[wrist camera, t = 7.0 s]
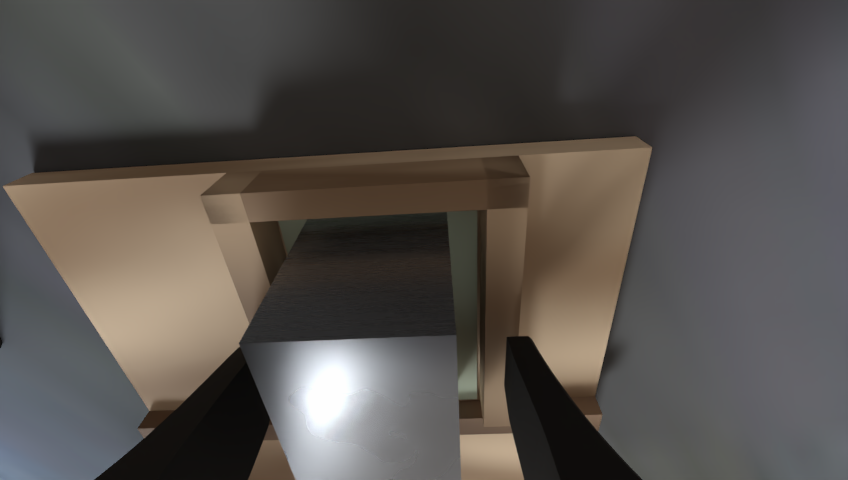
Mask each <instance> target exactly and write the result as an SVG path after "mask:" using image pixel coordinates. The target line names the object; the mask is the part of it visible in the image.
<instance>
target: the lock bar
mask: <svg viewBox="0 0 848 480" xmlns="http://www.w3.org/2000/svg"><path fill="white" fill-rule="evenodd" d="M239 345H240V348H241V350H242V353H243V355H244V357H245V360H246V362H247V364H248V367H249V369H250V372H251V374H252V376H253V379H254V381H255V384H256V386H257V388H258V391H259V393H260V396H261V398H262V400H263V403H264V405H265V408H266V410H267V412H268V415H269V417H270V420H271V422H272V424H273V427H274V429H275V431H276V434H277V436H278V439H279V441H280V443H281V446H282V448H283V451H284V453H285V455H286V458H287V460H288V463H289V465H290V467H291V470H292V472H293V475H294V477H295V479H296V480H461V459H460V429H459V400H458V370H457V341H456V325H455V312H454V299H453V286H452V273H451V260H450V247H449V234H448V222H447V212H434V213H415V214H396V215H378V216H359V217H341V218H322V219H307V221H306V222H305V224H304V226H303V228H302V230H301V232H300V233H299V235H298V237H297V239H296V241H295V242H294V244H293V246H292V248H291V250H290V252H289V253H288V255H287V257H286V259H285V261H284V262H283V264H282V266H281V268H280V270H279V271H278V273H277V275H276V277H275V279H274V281H273V282H272V284H271V286H270V288H269V290H268V291H267V293H266V295H265V297H264V299H263V301H262V302H261V304H260V306H259V308H258V310H257V311H256V313H255V315H254V317H253V319H252V320H251V322H250V324H249V326H248V328H247V330H246V331H245V333H244V335H243V337H242V339H241V340H240V342H239Z"/></svg>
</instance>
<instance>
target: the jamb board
mask: <svg viewBox="0 0 848 480" xmlns="http://www.w3.org/2000/svg"><path fill="white" fill-rule="evenodd" d="M651 151H652V147H651V146H649V145H648V144H646V143H645V142H644V141H642V140H641V139H639V138H638V137H636V136H632V137H615V138H599V139H582V140H566V141H550V142H533V143H517V144H500V145H484V146H467V147H451V148H435V149H418V150H402V151H385V152H369V153H352V154H336V155H320V156H303V157H287V158H270V159H254V160H237V161H221V162H204V163H188V164H172V165H155V166H139V167H122V168H106V169H89V170H73V171H57V172H40V173H31V174H29V175H27V176H24V177H22V178H20V179H18V180H15V181H13V182H11V183H9V184H6V185H4V186H3V187H4V189H5V191H6V192H7V194H8V195H9V197H10V198H11V200H12V201H13V203H14V204H15V206H16V207H17V209H18V210H19V212H20V213H21V215H22V217H23V218H24V220H25V221H26V223H27V224H28V226H29V227H30V229H31V230H32V232H33V233H34V235H35V236H36V238H37V239H38V241H39V243H40V244H41V246H42V247H43V249H44V250H45V252H46V253H47V255H48V256H49V258H50V259H51V261H52V262H53V264H54V265H55V267H56V269H57V270H58V272H59V273H60V275H61V276H62V278H63V279H64V281H65V282H66V284H67V285H68V287H69V288H70V290H71V291H72V293H73V295H74V296H75V298H76V299H77V301H78V302H79V304H80V305H81V307H82V308H83V310H84V311H85V313H86V314H87V316H88V318H89V319H90V321H91V322H92V324H93V325H94V327H95V328H96V330H97V331H98V333H99V334H100V336H101V337H102V339H103V340H104V342H105V344H106V345H107V347H108V348H109V350H110V351H111V353H112V354H113V356H114V357H115V359H116V360H117V362H118V363H119V365H120V366H121V368H122V370H123V371H124V373H125V374H126V376H127V377H128V379H129V380H130V382H131V383H132V385H133V386H134V388H135V389H136V391H137V392H138V394H139V396H140V397H141V399H142V400H143V402H144V403H145V405H146V406H147V408H148V409H149V412H148V414H147V415H146V417H145V418H144V420H143V421H142V423H141V424H140V426H139V427H138V430H139V432H140V433H141V434H142V436H143V437H144V438H145V437H146V436H147V435H148V434H150V433H151V432H152V431H153V430H154V429H155V428H156V427H157V426H158V425H159V424H160V423H162V422H163V421H164V420H165V419H166V418H167V417H168V416H169V415H170V414H171V413H172V412H174V411H175V410H176V409H177V408H178V407H179V406H180V405H181V404H182V403H183V402H184V401H185V400H186V399H187V398H188V397H189V396H190V395H191V394H192V393H193V392H194V391H195V390H196V389H197V388H198V387H199V386H200V385H201V384H202V383H203V382H204V381H205V380H206V379H207V378H208V377H209V376H210V375H211V374H212V373H213V372H214V371H215V370H216V369H217V368H218V367H219V366H220V365H221V364H222V363H223V362H224V361H225V360H226V359H227V358H228V357H229V356H230V355H231V354H232V353H233V352H234V351H235V350H236V349H238V348H239V347H240V345H239V342H240V340H241V339H242V337H243V335H244V333H245V331H246V330H247V328H248V326H249V324H250V322H251V320H252V319H253V317H254V315H255V313H256V311H257V310H258V308H259V306H260V304H261V302H262V301H263V299H264V297H265V295H266V293H267V291H268V290H269V288H270V286H271V284H272V282H273V281H274V279H275V277H276V275H277V273H278V271H279V270H280V268H281V266H282V264H283V262H284V261H285V259H286V257H287V255H288V253H289V252H290V250H291V248H292V246H293V244H294V242H295V241H296V239H297V237H298V235H299V233H300V232H301V230H302V228H303V226H304V224H305V222H306V221H307V219H322V218H341V217H359V216H378V215H396V214H415V213H434V212H447V222H448V234H449V247H450V260H451V273H452V286H453V299H454V312H455V325H456V341H457V370H458V400H459V429H460V459H461V480H524V477H523V473H522V469H521V465H520V461H519V457H518V453H517V449H516V445H515V442H514V438H513V434H512V430H511V425H510V421H509V415H508V409H507V402H506V395H505V388H504V378H505V359H506V340H507V337H514V336H529V337H530V338H531V339H532V340H533V342H534V344H535V345H536V347H537V349H538V350H539V352H540V354H541V355H542V357H543V358H544V360H545V362H546V363H547V365H548V366H549V368H550V369H551V371H552V372H553V374H554V375H555V376H556V378H557V379H558V381H559V382H560V384H561V385H562V386H563V388H564V389H565V390H566V392H567V393H568V394H569V396H570V397H571V398H572V400H573V401H574V402H575V404H576V405H577V406H578V408H579V409H580V410H581V411H582V413H583V414H584V415H585V417H586V418H587V419H588V420H589V421H590V423H591V424H592V425H593V426H594V427H595V429H596V430H597V431H598V430H599V426H600V422H601V418H602V412H601V410H600V407H599V405H598V403H597V400H596V398H595V394H596V390H597V385H598V381H599V377H600V372H601V368H602V364H603V359H604V355H605V351H606V346H607V342H608V338H609V333H610V329H611V325H612V320H613V316H614V312H615V307H616V303H617V299H618V294H619V290H620V286H621V281H622V277H623V273H624V268H625V264H626V260H627V255H628V251H629V247H630V242H631V238H632V234H633V229H634V225H635V221H636V216H637V212H638V208H639V203H640V199H641V195H642V190H643V186H644V182H645V177H646V173H647V169H648V164H649V160H650V156H651ZM248 480H296V479H295V477H294V475H293V472H292V470H291V467H290V465H289V463H288V460H287V458H286V455H285V453H284V451H283V448H282V446H281V443H280V441H279V439H278V436H277V434H276V431H275V429H274V427H273V424H272V422H271V420H270V422H269V426H268V429H267V432H266V435H265V437H264V440H263V443H262V445H261V448H260V451H259V453H258V456H257V458H256V461H255V464H254V466H253V469H252V471H251V474H250V476H249V479H248Z"/></svg>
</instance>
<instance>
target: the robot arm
mask: <svg viewBox="0 0 848 480" xmlns="http://www.w3.org/2000/svg"><path fill="white" fill-rule="evenodd" d="M504 388H505V395H506V402H507V409H508V415H509V421H510V425H511V430H512V434H513V438H514V442H515V445H516V449H517V453H518V457H519V461H520V465H521V469H522V473H523V477H524V480H642V479H641V478H640V477H639V476H638V475H637V474H636V473H635V472H634V471H633V470H632V469H631V468H630V467H629V465H628V464H627V463H626V462H625V461H624V460H623V459H622V458H621V457H620V456H619V455H618V454H617V453H616V452H615V450H614V449H613V448H612V447H611V446H610V445H609V444H608V443H607V441H606V440H605V439H604V438H603V437H602V436H601V435H600V433H599V432H598V431H597V430H596V429H595V427H594V426H593V425H592V424H591V423H590V421H589V420H588V419H587V418H586V417H585V415H584V414H583V413H582V411H581V410H580V409H579V408H578V406H577V405H576V404H575V402H574V401H573V400H572V398H571V397H570V396H569V394H568V393H567V392H566V390H565V389H564V388H563V386H562V385H561V384H560V382H559V381H558V379H557V378H556V376H555V375H554V374H553V372H552V371H551V369H550V368H549V366H548V365H547V363H546V362H545V360H544V358H543V357H542V355H541V354H540V352H539V350H538V349H537V347H536V345H535V344H534V342H533V340H532V339H531V338H530V337H529V336H514V337H507V340H506V359H505V378H504ZM269 422H270V417H269V415H268V412H267V410H266V408H265V405H264V403H263V400H262V398H261V396H260V393H259V391H258V388H257V386H256V384H255V381H254V379H253V376H252V374H251V372H250V369H249V367H248V364H247V362H246V360H245V357H244V355H243V353H242V350H241V348H240V347H239V348H238V349H236V350H235V351H234V352H233V353H232V354H231V355H230V356H229V357H228V358H227V359H226V360H225V361H224V362H223V363H222V364H221V365H220V366H219V367H218V368H217V369H216V370H215V371H214V372H213V373H212V374H211V375H210V376H209V377H208V378H207V379H206V380H205V381H204V382H203V383H202V384H201V385H200V386H199V387H198V388H197V389H196V390H195V391H194V392H193V393H192V394H191V395H190V396H189V397H188V398H187V399H186V400H185V401H184V402H183V403H182V404H181V405H180V406H179V407H178V408H177V409H176V410H175V411H174V412H172V413H171V414H170V415H169V416H168V417H167V418H166V419H165V420H164V421H163V422H162V423H160V424H159V425H158V426H157V427H156V428H155V429H154V430H153V431H152V432H151V433H150V434H148V435H147V436H146V437H145V438H144V439H143V440H142V441H141V442H140V443H138V444H137V445H136V446H135V447H134V448H133V449H131V450H130V451H129V452H128V453H127V454H126V455H124V456H123V457H122V458H121V459H120V460H118V461H117V462H116V463H115V464H113V465H112V466H111V467H110V468H108V469H107V470H106V471H105V472H103V473H102V474H101V475H100V476H98V477H97V478H96V479H95V480H248V479H249V476H250V474H251V471H252V469H253V466H254V464H255V461H256V458H257V456H258V453H259V451H260V448H261V445H262V443H263V440H264V437H265V435H266V432H267V429H268V426H269Z"/></svg>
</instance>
